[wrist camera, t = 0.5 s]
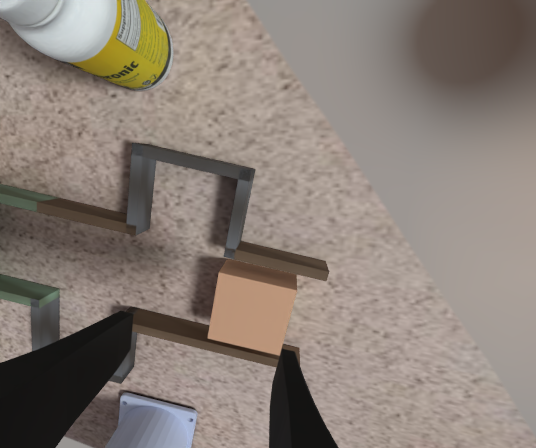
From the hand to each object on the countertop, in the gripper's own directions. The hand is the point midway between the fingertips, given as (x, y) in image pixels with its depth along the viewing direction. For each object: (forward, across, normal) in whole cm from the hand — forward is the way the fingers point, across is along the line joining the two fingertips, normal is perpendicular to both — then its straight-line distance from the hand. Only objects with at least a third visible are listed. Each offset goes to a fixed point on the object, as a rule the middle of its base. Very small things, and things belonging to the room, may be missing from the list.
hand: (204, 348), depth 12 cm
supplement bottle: (+10, +10, -14) cm, 20 cm away
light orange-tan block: (+10, -2, +3) cm, 11 cm away
